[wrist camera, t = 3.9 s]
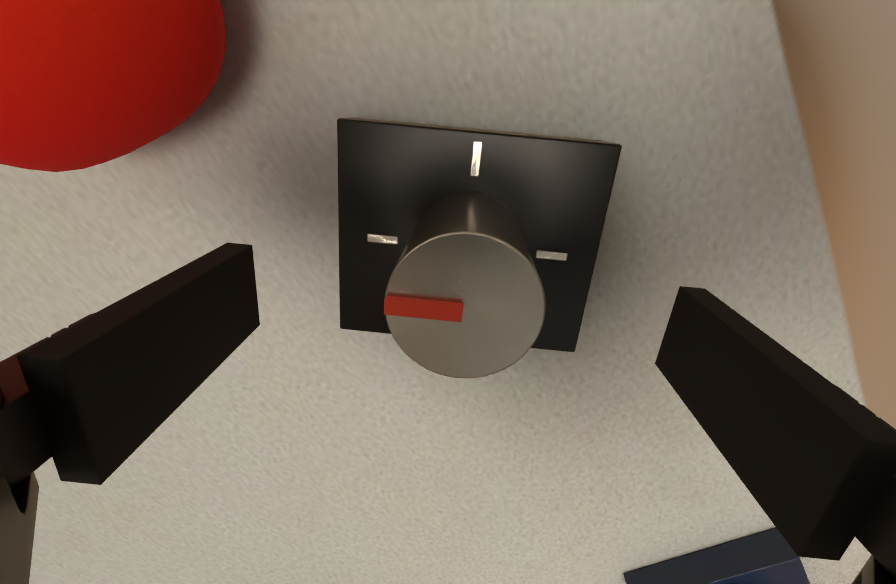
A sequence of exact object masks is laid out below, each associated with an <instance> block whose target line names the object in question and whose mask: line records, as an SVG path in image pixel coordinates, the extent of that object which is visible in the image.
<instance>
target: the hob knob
mask: <svg viewBox="0 0 896 584" xmlns="http://www.w3.org/2000/svg"><path fill="white" fill-rule="evenodd" d="M545 309H546V307H545V294H544V289H543V286H542V283H541V280H540V277H539V275H538V272H537V270H536V267H535V265H534V263H533V260H532V258H531V256H530V253H529V251H528V248H527V246H526V244H525V241H524V239H523V236H522V234H521V232H520V229H519V227H518V224H517V222H516V220H515V218H514V217H513V216H512V214H511V213H510V212H509V210H508V209H507V208H506V207H505V206H503V205H502V204H501V203H500V202H498V201H497V200H495V199H493V198H491V197H489V196H487V195H483V194H480V193H474V192H461V193H455V194H451V195H448V196H446V197H443V198H441V199H439V200H438V201H436V202H435V203H433V204H432V205H431V206H430V207H429V208H428V209H427V210H426V211H425V212H424V213H423V215H422V216H421V218H420V219H419V221H418V223H417V225H416V227H415V229H414V231H413V233H412V235H411V237H410V239H409V241H408V243H407V245H406V247H405V249H404V251H403V253H402V254H401V256H400V258H399V260H398V262H397V264H396V266H395V268H394V270H393V272H392V274H391V277H390V279H389V282H388V285H387V289H386V293H385V299H384V315H386V320H387V323H388V326H389V329H390V331H391V333H392V335H393V338H394V339H395V341H396V342H397V344H398V345H399V347H400V348H401V349H402V350H403V351H404V352H405V354H406V355H408V356H409V357H410V358H411V359H412V360H413V361H415V362H416V363H418V364H419V365H420V366H422V367H424V368H426V369H428V370H430V371H432V372H435V373H437V374H441V375H445V376H449V377H455V378H477V377H482V376H487V375H490V374H494V373H497V372H499V371H501V370H504V369H505V368H507V367H509V366H511V365H512V364H514V363H515V362H516V361H518V360H519V359H520V358H521V357H522V356H523V355H524V354H525V353H527V351H528V350H529V349H530V348H531V346H532V345H533V344H534V342H535V340H536V339H537V337H538V335H539V333H540V330H541V328H542V325H543V321H544V317H545Z"/></svg>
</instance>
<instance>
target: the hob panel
mask: <svg viewBox="0 0 896 584" xmlns="http://www.w3.org/2000/svg"><path fill="white" fill-rule="evenodd" d="M337 138H338V212H339V285H340V328H341V329H349V330H359V331H369V332H379V333H389V334H392V333H391V331H390V329H389V326H388V323H387V320H386V315H384V299H385V293H386V289H387V285H388V282H389V279H390V277H391V274H392V272H393V270H394V268H395V266H396V264H397V262H398V260H399V258H400V256H401V254H402V253H403V251H404V249H405V247H406V245H407V243H408V241H409V239H410V237H411V235H412V233H413V231H414V229H415V227H416V225H417V223H418V221H419V219H420V218H421V216H422V215H423V213H424V212H425V211H426V210H427V209H428V208H429V207H430V206H431V205H432V204H433V203H435V202H436V201H438V200H439V199H441V198H443V197H446V196H448V195H451V194H455V193H461V192H474V193H480V194H483V195H487V196H489V197H491V198H493V199H495V200H497V201H498V202H500V203H501V204H502V205H503V206H505V207H506V208H507V209H508V210H509V212H510V213H511V214H512V216H513V217H514V218H515V220H516V222H517V224H518V227H519V229H520V232H521V234H522V236H523V239H524V241H525V244H526V246H527V248H528V251H529V253H530V256H531V258H532V260H533V263H534V265H535V267H536V270H537V272H538V275H539V277H540V280H541V283H542V286H543V289H544V294H545V307H546V309H545V317H544V321H543V325H542V328H541V330H540V333H539V335H538V337H537V339H536V340H535V342H534V344H533V345H532V346H531V348H538V349H548V350H558V351H568V352H574V351H575V348H576V344H577V339H578V335H579V331H580V326H581V322H582V318H583V313H584V309H585V304H586V300H587V296H588V291H589V287H590V283H591V278H592V274H593V270H594V265H595V261H596V257H597V252H598V248H599V244H600V239H601V235H602V230H603V226H604V222H605V217H606V213H607V209H608V204H609V200H610V196H611V191H612V187H613V183H614V178H615V174H616V170H617V165H618V161H619V156H620V152H621V148H622V146H621V145H620V144H615V143H610V142H605V141H599V140H588V139H577V138H566V137H555V136H545V135H534V134H523V133H512V132H502V131H491V130H480V129H469V128H459V127H448V126H437V125H426V124H416V123H405V122H394V121H383V120H373V119H362V118H339V119H338V120H337Z"/></svg>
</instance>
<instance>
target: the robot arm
mask: <svg viewBox="0 0 896 584" xmlns="http://www.w3.org/2000/svg"><path fill="white" fill-rule="evenodd" d="M259 325H260V322H259V311H258V301H257V291H256V280H255V270H254V260H253V249H252V245H246V244H235V243H226V244H224V245H222V246H220V247H218V248H217V249H215V250H213V251H211V252H209V253H207V254H205V255H203V256H202V257H200V258H198V259H196V260H194V261H192V262H190V263H188V264H187V265H185V266H183V267H181V268H179V269H177V270H175V271H173V272H172V273H170V274H168V275H166V276H164V277H162V278H160V279H158V280H157V281H155V282H153V283H151V284H149V285H147V286H145V287H143V288H142V289H140V290H138V291H136V292H134V293H132V294H130V295H128V296H127V297H125V298H123V299H121V300H119V301H117V302H115V303H113V304H112V305H110V306H108V307H106V308H104V309H102V310H100V311H98V312H97V313H93V314H90V315H88V316H86V317H84V318H82V319H80V320H79V321H77V322H75V323H73V324H71V325H69V327H68V328H63V329H62V330H60V331H58V332H56V333H54V334H52V335H51V337H50V338H49V337H46V338H45V339H43V340H41V341H39V342H37V343H35V344H33V345H31V346H29V347H28V348H26V349H24V350H22V351H20V352H18V353H16V354H14V355H12V356H11V357H9V358H7V359H5V360H3V361H1V362H0V584H29V576H30V567H31V558H32V548H33V539H34V529H35V520H36V510H37V501H38V492H39V485H38V482H37V479H36V477H35V474H34V471H35V470H36V469H37V468H38V467H40V466H41V465H42V464H43V463H44V462H46V461H47V460H48V459H49V458H51V457H53V460H54V463H55V466H56V468H57V471H58V474H59V477H60V480H61V481H68V482H78V483H88V484H98V485H101V484H102V483H103V482H104V481H105V480H106V479H107V478H108V477H109V476H110V475H111V474H112V473H113V472H114V471H115V470H116V469H117V468H118V467H119V466H120V465H121V464H122V463H123V462H124V461H125V460H126V459H127V458H128V457H129V456H130V455H131V454H132V453H133V452H134V451H135V450H136V449H137V448H138V447H139V446H140V445H141V444H142V443H143V442H144V441H145V440H146V439H147V438H148V437H149V436H150V435H151V434H152V433H153V432H154V431H155V430H156V429H157V428H158V427H159V426H160V425H161V424H162V423H163V422H164V421H165V420H166V419H167V418H168V417H169V416H170V415H171V414H172V413H173V412H174V411H175V410H176V409H177V408H178V407H179V406H180V405H181V404H182V403H183V402H184V401H185V400H186V399H187V398H188V397H189V396H190V395H191V394H192V393H193V392H194V391H195V390H196V389H197V388H198V387H199V386H200V384H201V383H202V382H203V381H204V380H205V379H206V378H207V377H208V376H209V375H210V374H211V373H212V372H213V371H214V370H215V369H216V368H217V367H218V366H219V365H220V364H221V363H222V362H223V361H224V360H225V359H226V358H227V357H228V356H229V355H230V354H231V353H232V352H233V351H234V350H235V349H236V348H237V347H238V346H239V345H240V344H241V343H242V342H243V341H244V340H245V339H246V338H247V337H248V336H249V335H250V334H251V333H252V332H253V331H254V330H255V329H256V328H257V327H258V326H259ZM655 364H656V366H657V367H658V368H659V370H660V371H661V372H662V374H663V375H664V376H665V378H666V379H667V380H668V382H669V383H670V384H671V386H672V387H673V389H674V390H675V391H676V393H677V394H678V395H679V397H680V398H681V399H682V401H683V402H684V403H685V405H686V406H687V407H688V409H689V410H690V411H691V413H692V414H693V416H694V417H695V418H696V420H697V421H698V422H699V424H700V425H701V426H702V428H703V429H704V430H705V432H706V433H707V434H708V436H709V437H710V438H711V440H712V441H713V443H714V444H715V445H716V447H717V448H718V449H719V451H720V452H721V453H722V455H723V456H724V457H725V459H726V460H727V461H728V463H729V464H730V465H731V467H732V468H733V470H734V471H735V472H736V474H737V475H738V476H739V478H740V479H741V480H742V482H743V483H744V484H745V486H746V487H747V488H748V490H749V491H750V492H751V494H752V495H753V497H754V498H755V499H756V501H757V502H758V503H759V505H760V506H761V507H762V509H763V510H764V511H765V513H766V514H767V515H768V517H769V518H770V519H771V521H772V522H773V524H774V525H775V526H776V528H777V529H778V530H779V532H780V533H781V534H782V536H783V537H784V538H785V540H786V541H787V542H788V544H789V545H790V547H791V548H792V549H793V551H794V552H795V553H796V555H797V556H800V557H810V558H819V559H829V560H840V558H841V557H842V555H843V554H844V552H845V551H846V549H847V548H848V546H849V545H850V543H851V542H852V540H853V539H854V537H856V538H857V539H858V540H859V541H860V542H861V543H862V544H863V546H864V547H865V548H866V549H867V550H868V551H869V552H870V553H871V554H872V555H871V556H870V558H869V559H868V561H867V562H866V564H865V565H864V567H863V568H862V569H861V571H860V572H859V574H858V575H857V577H856V578H855V580H854V581H853V582H852V584H896V429H894V428H893V427H892V426H890V425H889V424H888V423H886V422H885V421H883V420H882V419H881V418H878V417H877V416H876V415H875V414H874V413H873V412H871V411H870V410H869V409H867V408H866V407H865V406H863V405H861V404H859V402H858V401H857V400H855V399H854V398H853V397H851V396H850V395H848V394H847V393H846V392H844V391H843V390H842V389H840V388H839V387H837V386H836V385H834V384H832V383H831V382H830V381H828V380H827V379H826V378H824V377H823V376H822V375H820V374H819V373H818V372H816V371H815V370H814V369H812V368H811V367H810V366H808V365H807V364H805V363H804V362H803V361H801V360H800V359H799V358H797V357H796V356H795V355H793V354H792V353H791V352H789V351H788V350H787V349H785V348H784V347H783V346H781V345H780V344H779V343H777V342H776V341H775V340H773V339H772V338H771V337H769V336H768V335H767V334H765V333H764V332H763V331H761V330H760V329H758V328H757V327H756V326H754V325H753V324H752V323H750V322H749V321H748V320H746V319H745V318H744V317H742V316H741V315H740V314H738V313H737V312H736V311H734V310H733V309H732V308H730V307H729V306H728V305H726V304H725V303H724V302H722V301H721V300H720V299H718V298H717V297H716V296H714V295H713V294H711V293H710V292H709V291H707V290H706V289H703V288H693V287H682V286H680V287H679V290H678V293H677V296H676V300H675V303H674V306H673V309H672V312H671V315H670V318H669V322H668V325H667V328H666V331H665V334H664V337H663V340H662V343H661V347H660V350H659V353H658V356H657V359H656V362H655Z"/></svg>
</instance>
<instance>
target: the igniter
mask: <svg viewBox="0 0 896 584" xmlns="http://www.w3.org/2000/svg"><path fill="white" fill-rule="evenodd" d="M624 577H625V580H626V583H627V584H810V583H809V580H808V578H807V575H806V573H805V570H804V568H803V565H802V562H801V560H800V557H799V556H797V555H796V553H795V552H794V551H793V549H792V548H791V547H790V545H789V544H788V542H787V541H786V540H785V538H784V537H783V536H782V534H781V533H780V532H779V530H778V529H777V528H775V529H771V530H768V531H765V532H761V533H758V534H755V535H751V536H748V537H745V538H741V539H738V540H735V541H731V542H728V543H725V544H721V545H718V546H715V547H711V548H708V549H705V550H701V551H698V552H695V553H691V554H688V555H685V556H681V557H678V558H675V559H671V560H668V561H665V562H661V563H658V564H655V565H651V566H648V567H645V568H641V569H638V570H635V571H631V572H628V573H625V574H624Z"/></svg>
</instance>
